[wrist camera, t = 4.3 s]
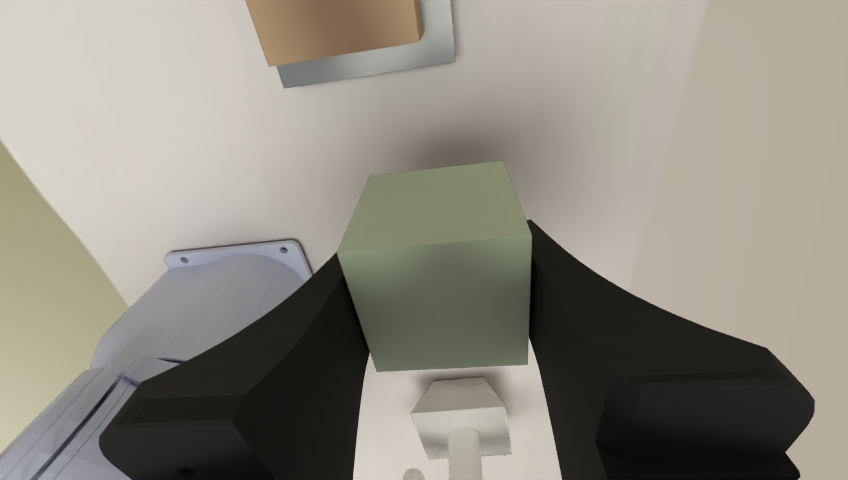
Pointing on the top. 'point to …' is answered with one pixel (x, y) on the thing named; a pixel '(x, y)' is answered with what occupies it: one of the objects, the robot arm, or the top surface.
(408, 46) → the base tile
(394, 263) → the green cube
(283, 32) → the walnut block
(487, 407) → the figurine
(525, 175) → the top surface
